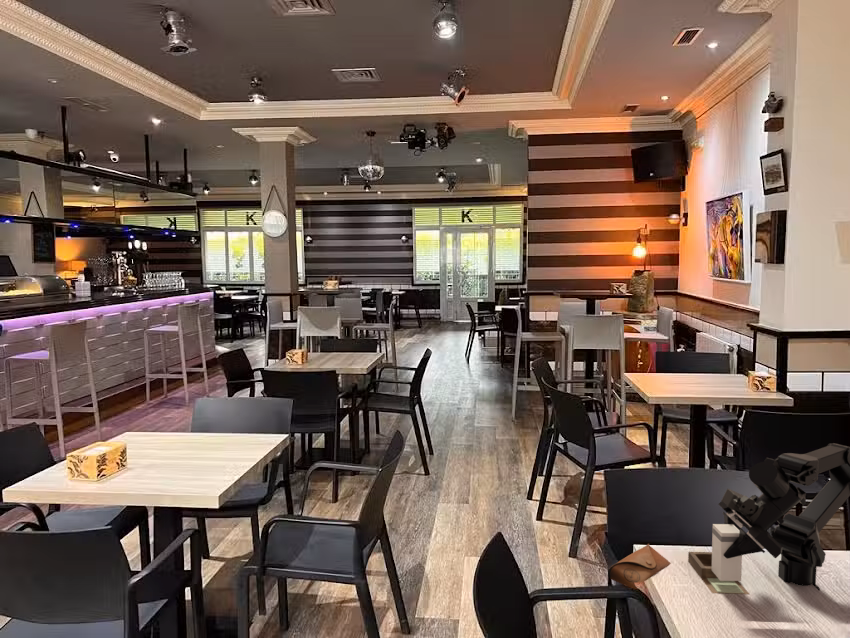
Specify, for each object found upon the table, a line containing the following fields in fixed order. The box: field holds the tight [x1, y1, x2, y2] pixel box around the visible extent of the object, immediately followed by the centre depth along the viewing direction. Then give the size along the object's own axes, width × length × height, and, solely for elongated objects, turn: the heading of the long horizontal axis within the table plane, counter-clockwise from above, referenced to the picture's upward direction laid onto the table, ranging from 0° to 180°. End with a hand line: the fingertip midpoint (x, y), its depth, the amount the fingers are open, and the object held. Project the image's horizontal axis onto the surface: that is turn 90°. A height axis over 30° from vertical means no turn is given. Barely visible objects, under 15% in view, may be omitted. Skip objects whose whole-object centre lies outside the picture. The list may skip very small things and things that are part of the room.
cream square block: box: [711, 523, 743, 582], centre depth 132 cm, size 5×5×11 cm
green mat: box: [707, 578, 744, 594], centre depth 132 cm, size 6×6×1 cm
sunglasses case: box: [607, 543, 671, 591], centre depth 141 cm, size 18×7×7 cm
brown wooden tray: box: [687, 551, 750, 595], centre depth 136 cm, size 8×14×4 cm, turn 176°
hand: (720, 551), depth 132 cm, fingers closed on cream square block, 4 cm apart
